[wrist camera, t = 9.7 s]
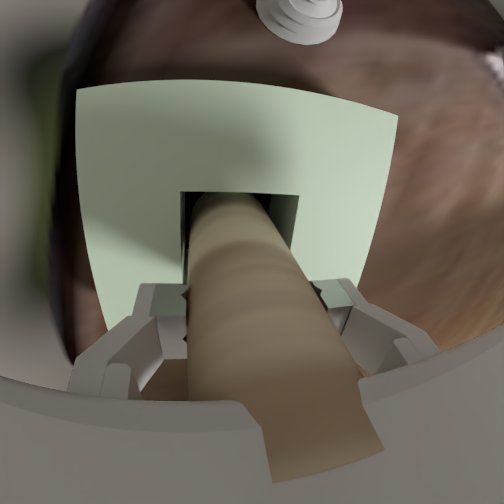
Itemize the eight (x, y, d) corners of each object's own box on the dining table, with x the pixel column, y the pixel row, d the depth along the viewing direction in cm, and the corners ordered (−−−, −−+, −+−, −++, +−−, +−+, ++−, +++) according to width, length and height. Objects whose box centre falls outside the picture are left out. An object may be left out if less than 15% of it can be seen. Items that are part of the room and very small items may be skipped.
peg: (259, 253, 16) (353, 483, 5) (190, 253, 15) (204, 513, 4) (267, 186, 14) (439, 420, 3) (190, 184, 13) (186, 488, 2)
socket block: (313, 300, 21) (336, 341, 17) (127, 304, 18) (115, 351, 14) (352, 110, 14) (398, 115, 10) (110, 93, 11) (76, 89, 8)
